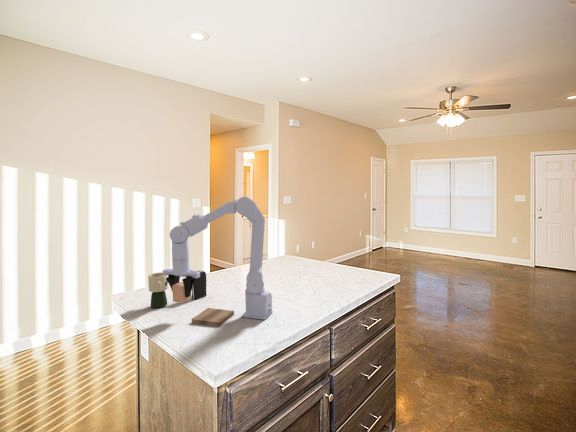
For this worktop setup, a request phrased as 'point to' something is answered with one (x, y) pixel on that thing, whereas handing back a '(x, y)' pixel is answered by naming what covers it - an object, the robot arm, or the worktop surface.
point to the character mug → (158, 289)
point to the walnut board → (213, 317)
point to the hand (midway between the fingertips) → (182, 295)
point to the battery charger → (199, 286)
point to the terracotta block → (179, 293)
